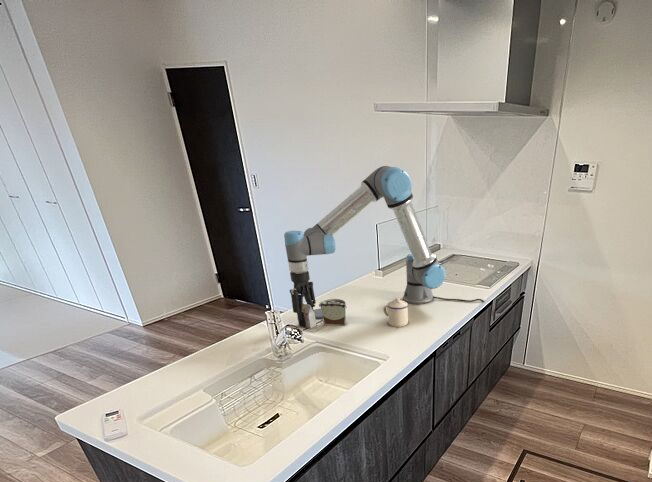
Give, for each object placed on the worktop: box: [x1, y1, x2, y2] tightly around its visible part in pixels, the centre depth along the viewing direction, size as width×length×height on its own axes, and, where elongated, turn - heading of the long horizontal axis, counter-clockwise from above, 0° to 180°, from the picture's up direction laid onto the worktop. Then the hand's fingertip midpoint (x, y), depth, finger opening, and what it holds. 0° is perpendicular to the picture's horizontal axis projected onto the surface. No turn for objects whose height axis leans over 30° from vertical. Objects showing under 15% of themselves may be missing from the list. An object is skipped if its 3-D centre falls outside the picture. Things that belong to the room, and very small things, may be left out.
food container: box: [318, 298, 348, 326], centre depth 191 cm, size 12×6×10 cm, turn 84°
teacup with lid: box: [383, 297, 409, 328], centre depth 191 cm, size 12×9×12 cm
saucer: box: [313, 308, 323, 320], centre depth 201 cm, size 11×11×1 cm
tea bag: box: [296, 303, 317, 329], centre depth 187 cm, size 4×7×10 cm, turn 63°
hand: (307, 323), depth 189 cm, fingers open, 6 cm apart
